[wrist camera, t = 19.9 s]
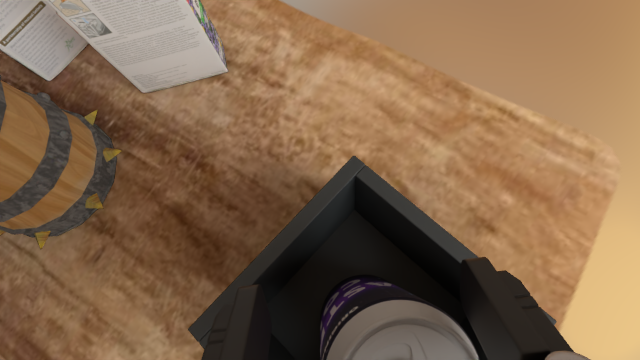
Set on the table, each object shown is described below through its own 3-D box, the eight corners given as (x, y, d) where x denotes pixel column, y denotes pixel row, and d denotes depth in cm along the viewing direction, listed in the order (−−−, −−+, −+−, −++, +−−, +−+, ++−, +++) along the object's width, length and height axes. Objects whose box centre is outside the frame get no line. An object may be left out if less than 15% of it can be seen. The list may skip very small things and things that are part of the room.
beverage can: (377, 257, 23) (438, 269, 11) (423, 335, 22) (541, 436, 10) (304, 301, 23) (287, 362, 11) (348, 383, 22) (383, 547, 10)
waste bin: (484, 310, 23) (557, 321, 15) (369, 457, 21) (379, 563, 13) (353, 197, 26) (353, 154, 18) (243, 316, 24) (187, 329, 16)
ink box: (140, 63, 32) (-25, -113, 18) (224, 41, 32) (123, -153, 18) (143, 97, 31) (-31, -63, 17) (230, 75, 30) (127, -105, 17)
